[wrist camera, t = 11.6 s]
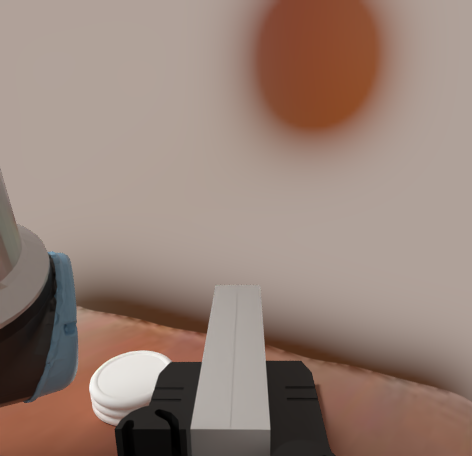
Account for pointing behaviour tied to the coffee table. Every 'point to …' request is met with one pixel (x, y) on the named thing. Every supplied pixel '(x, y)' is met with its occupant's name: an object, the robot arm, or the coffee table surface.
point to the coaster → (125, 384)
